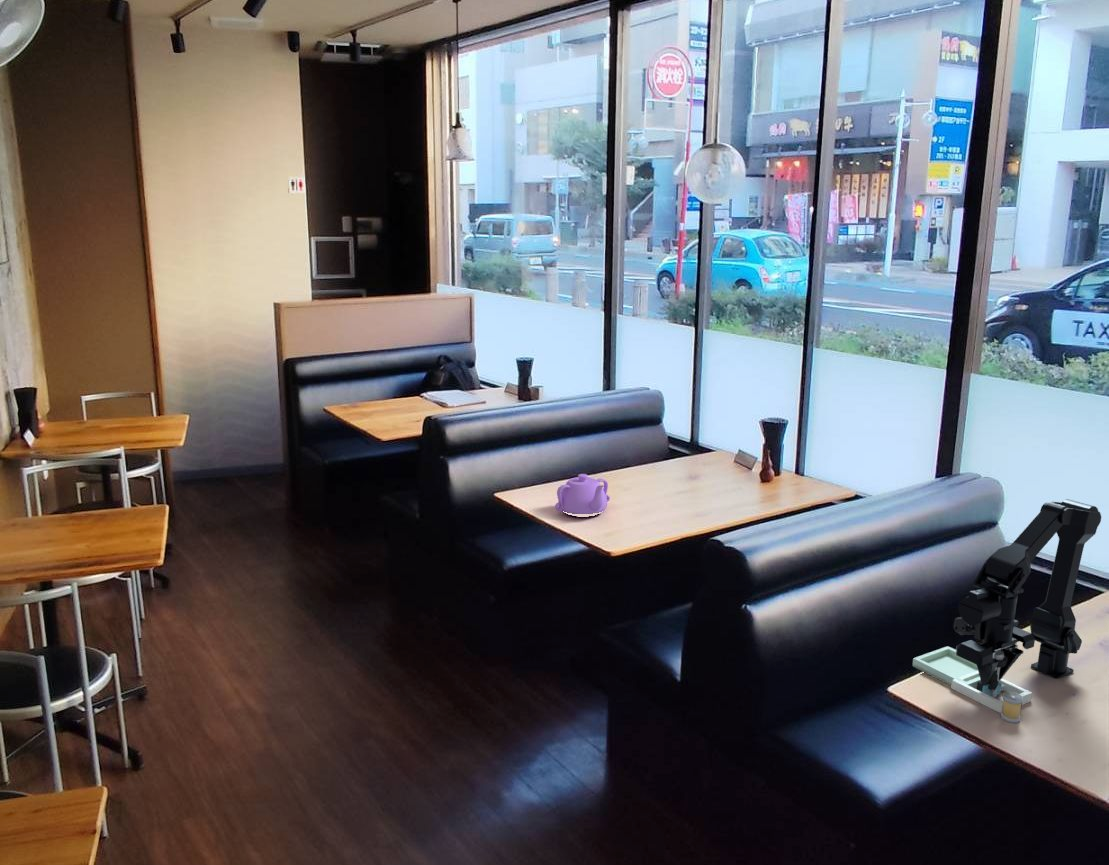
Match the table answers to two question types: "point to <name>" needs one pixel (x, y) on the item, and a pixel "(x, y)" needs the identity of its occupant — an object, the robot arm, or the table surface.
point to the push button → (994, 677)
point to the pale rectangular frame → (984, 697)
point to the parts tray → (946, 666)
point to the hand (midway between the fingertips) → (991, 681)
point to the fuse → (1011, 707)
